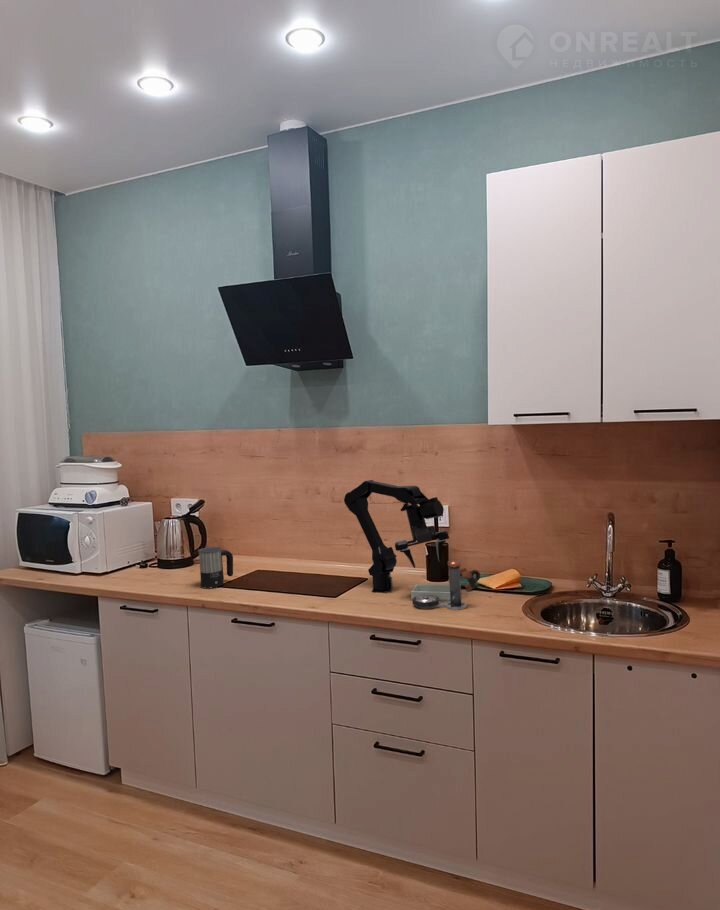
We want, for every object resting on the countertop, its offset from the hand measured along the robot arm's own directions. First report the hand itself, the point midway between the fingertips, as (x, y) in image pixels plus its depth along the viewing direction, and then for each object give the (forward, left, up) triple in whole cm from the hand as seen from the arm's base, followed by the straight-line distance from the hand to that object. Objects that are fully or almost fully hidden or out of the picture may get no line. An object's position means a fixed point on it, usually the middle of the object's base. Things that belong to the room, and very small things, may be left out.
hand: (427, 564), depth 234 cm
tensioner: (+5, -10, -12) cm, 16 cm away
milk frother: (-90, +12, -12) cm, 91 cm away
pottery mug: (+12, +14, -12) cm, 22 cm away
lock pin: (+11, -10, -12) cm, 19 cm away
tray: (+3, +1, -12) cm, 12 cm away
